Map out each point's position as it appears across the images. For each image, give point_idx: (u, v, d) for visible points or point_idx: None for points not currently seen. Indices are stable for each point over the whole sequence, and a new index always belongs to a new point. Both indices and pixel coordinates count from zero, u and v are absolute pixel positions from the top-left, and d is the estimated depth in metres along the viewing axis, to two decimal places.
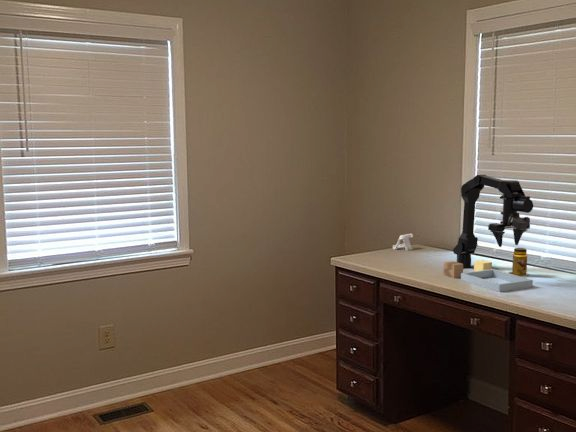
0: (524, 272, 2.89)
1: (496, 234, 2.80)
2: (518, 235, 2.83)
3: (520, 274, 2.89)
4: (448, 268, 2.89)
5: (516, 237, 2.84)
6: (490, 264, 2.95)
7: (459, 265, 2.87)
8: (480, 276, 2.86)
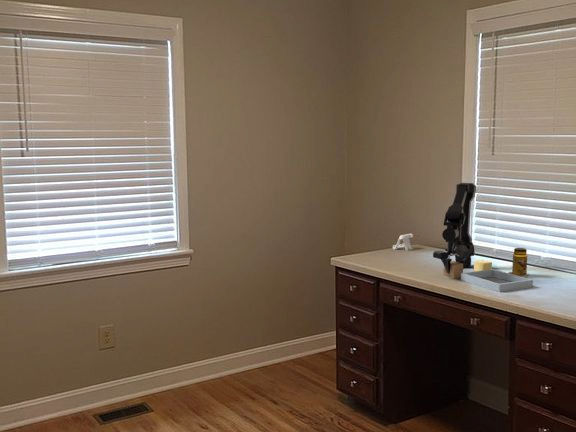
0: (524, 272, 2.89)
1: (444, 261, 2.89)
2: (459, 262, 2.90)
3: (520, 274, 2.89)
4: None
5: None
6: (490, 264, 2.95)
7: (459, 265, 2.87)
8: (480, 276, 2.86)
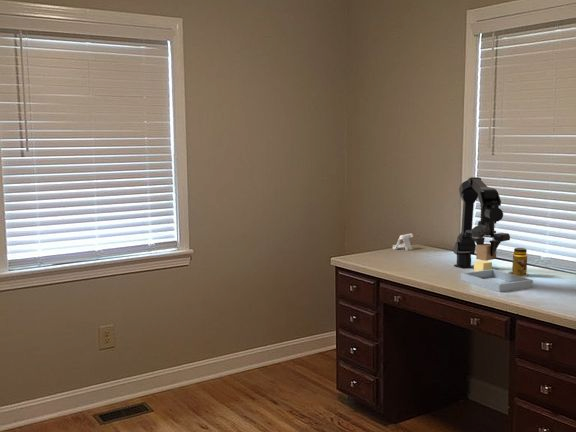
0: (524, 272, 2.89)
1: None
2: None
3: (520, 274, 2.89)
4: None
5: None
6: (490, 264, 2.95)
7: (482, 247, 2.75)
8: (480, 276, 2.86)
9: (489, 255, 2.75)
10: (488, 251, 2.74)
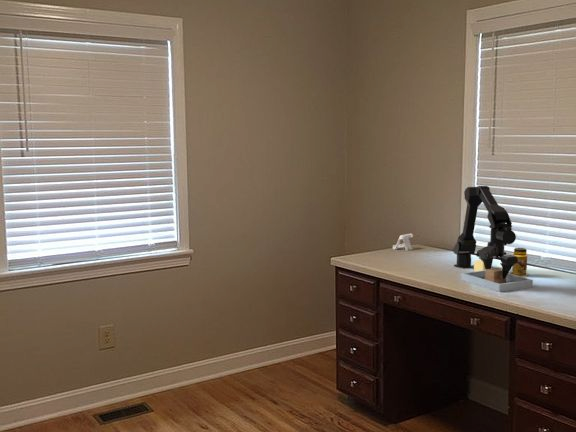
0: (524, 272, 2.89)
1: None
2: None
3: (520, 274, 2.89)
4: None
5: None
6: None
7: (490, 272, 2.74)
8: (480, 276, 2.86)
9: (497, 280, 2.73)
10: (496, 276, 2.73)
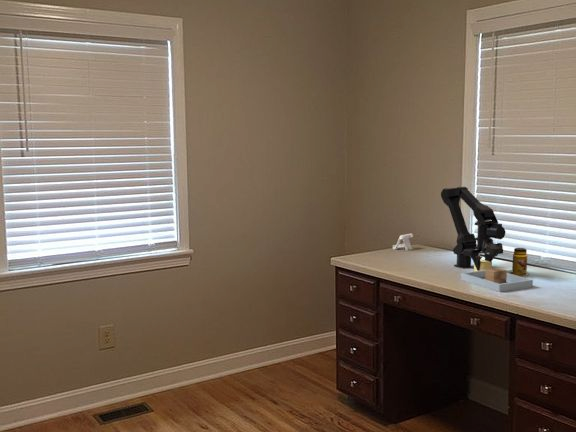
0: (524, 272, 2.89)
1: (474, 258, 2.96)
2: (489, 260, 2.98)
3: (520, 274, 2.89)
4: None
5: None
6: (490, 264, 2.95)
7: (490, 272, 2.74)
8: (480, 276, 2.86)
9: (497, 280, 2.73)
10: (496, 276, 2.73)
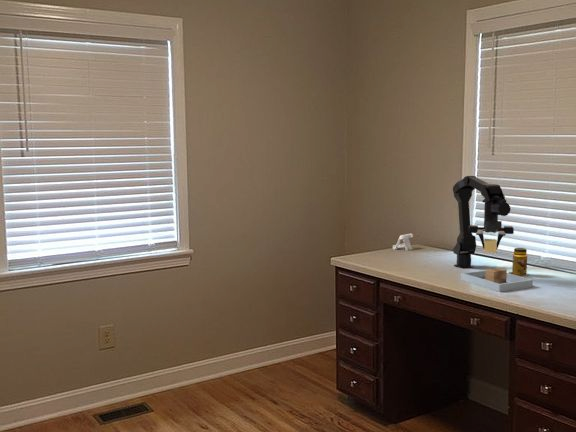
0: (524, 272, 2.89)
1: None
2: (497, 239, 2.84)
3: (520, 274, 2.89)
4: None
5: (497, 241, 2.85)
6: (494, 243, 2.82)
7: (490, 272, 2.74)
8: (480, 276, 2.86)
9: (497, 280, 2.73)
10: (496, 276, 2.73)
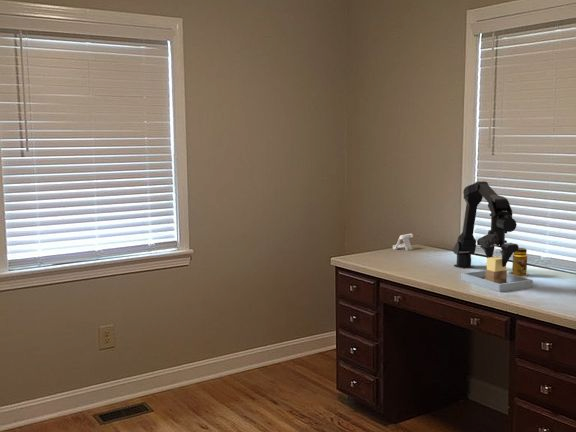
0: (524, 272, 2.89)
1: None
2: None
3: (520, 274, 2.89)
4: None
5: None
6: (494, 261, 2.72)
7: (490, 271, 2.74)
8: (480, 276, 2.86)
9: (497, 280, 2.73)
10: (496, 276, 2.73)
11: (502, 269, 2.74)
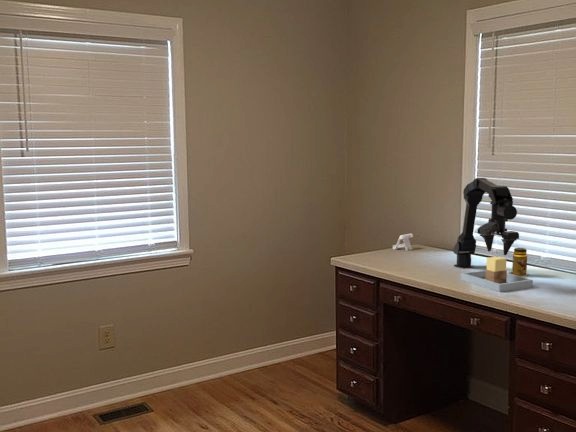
0: (524, 272, 2.89)
1: None
2: None
3: (520, 274, 2.89)
4: None
5: None
6: (494, 261, 2.72)
7: (490, 271, 2.74)
8: (480, 276, 2.86)
9: (497, 280, 2.73)
10: (496, 276, 2.73)
11: (502, 269, 2.74)
